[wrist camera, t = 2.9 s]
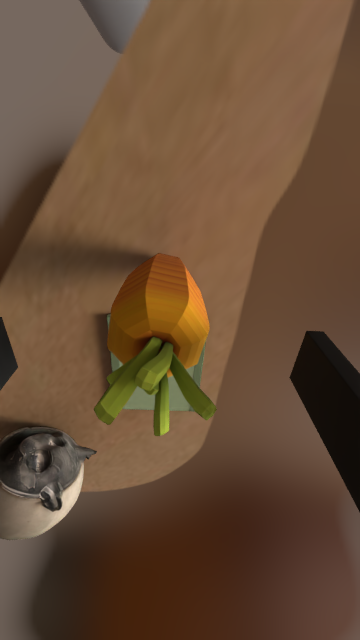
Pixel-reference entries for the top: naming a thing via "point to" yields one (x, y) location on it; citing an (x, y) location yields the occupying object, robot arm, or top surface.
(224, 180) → the top surface
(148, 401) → the tray
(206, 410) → the carrot
